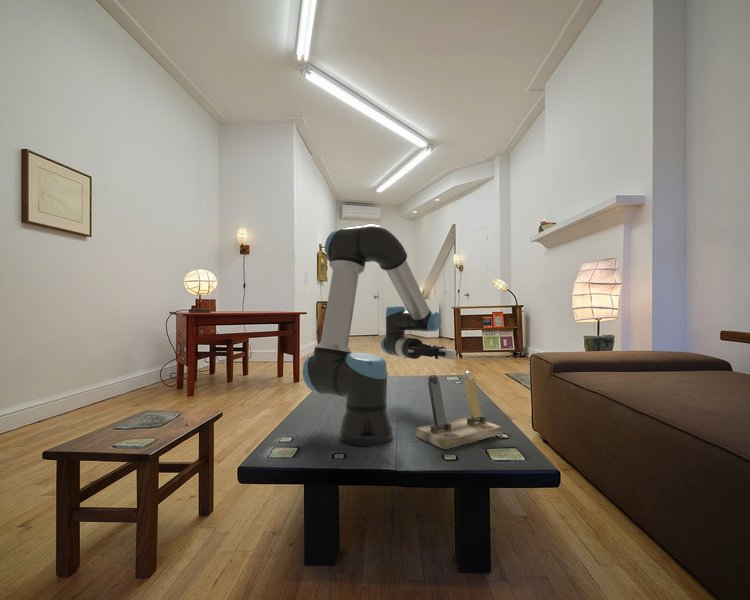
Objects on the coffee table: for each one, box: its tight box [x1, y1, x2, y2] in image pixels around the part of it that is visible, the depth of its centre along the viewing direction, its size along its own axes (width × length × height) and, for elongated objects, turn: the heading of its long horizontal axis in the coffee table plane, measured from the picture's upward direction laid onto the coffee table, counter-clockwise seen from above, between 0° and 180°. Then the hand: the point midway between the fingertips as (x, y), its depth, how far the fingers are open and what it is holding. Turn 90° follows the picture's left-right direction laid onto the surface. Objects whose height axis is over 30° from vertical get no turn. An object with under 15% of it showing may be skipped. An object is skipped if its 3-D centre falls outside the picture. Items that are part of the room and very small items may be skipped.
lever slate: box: [427, 374, 447, 430], centre depth 105 cm, size 3×3×15 cm
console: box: [415, 414, 503, 449], centre depth 107 cm, size 12×22×4 cm, turn 122°
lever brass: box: [463, 370, 482, 422], centre depth 112 cm, size 3×3×15 cm
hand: (454, 355), depth 119 cm, fingers closed
